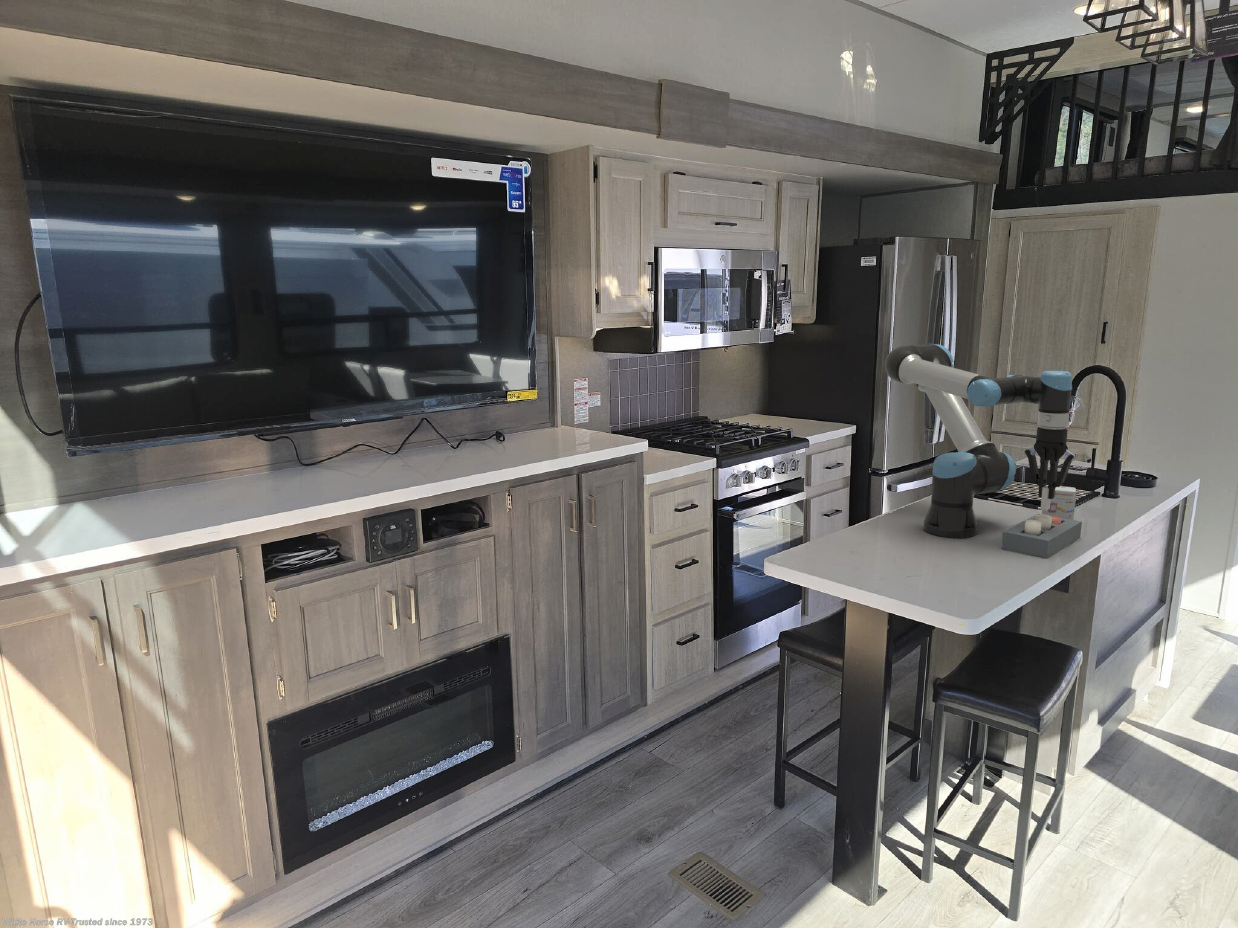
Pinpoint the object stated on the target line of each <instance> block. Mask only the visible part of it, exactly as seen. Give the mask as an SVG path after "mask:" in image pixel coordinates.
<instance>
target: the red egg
mask: <svg viewBox="0 0 1238 928" xmlns="http://www.w3.org/2000/svg"><path fill="white" fill-rule="evenodd" d="M1051 517H1052V522H1051V523H1053V524H1061V518H1060V517H1057V516H1051Z"/></svg>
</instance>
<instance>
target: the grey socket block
mask: <svg viewBox="0 0 1238 928" xmlns="http://www.w3.org/2000/svg"><path fill="white" fill-rule="evenodd" d="M1040 514H1041V513H1036V514H1035V515H1033V516H1031V517H1028V518H1027V519H1024V520H1023V521H1022V522H1019V523H1017V524H1015V525H1013V526H1012V527H1009V528H1007V529H1005V530H1003V531H1002V536H1001V537H1002V539H1001V550H1007V551H1011V552H1015V553H1020V554H1025V555H1029V556H1034V557H1039V558H1043V559H1048V558H1050V557H1051V556H1053V555H1055V554H1056V553H1058V552H1060V551H1061V550H1064V549H1065V548H1066V547H1068V546H1069V545H1071V544H1072V543H1074V542H1077V541H1078V540H1079V539H1081V532H1082V523H1083V521H1081V520H1075V519H1073V520H1070V519H1065V518H1061V524H1053V523H1051V529H1050V530H1045V529H1041V534H1040V535H1039V536H1036V535H1031V534H1026V533H1024V531H1025V521H1026V520H1036V515H1040Z"/></svg>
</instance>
